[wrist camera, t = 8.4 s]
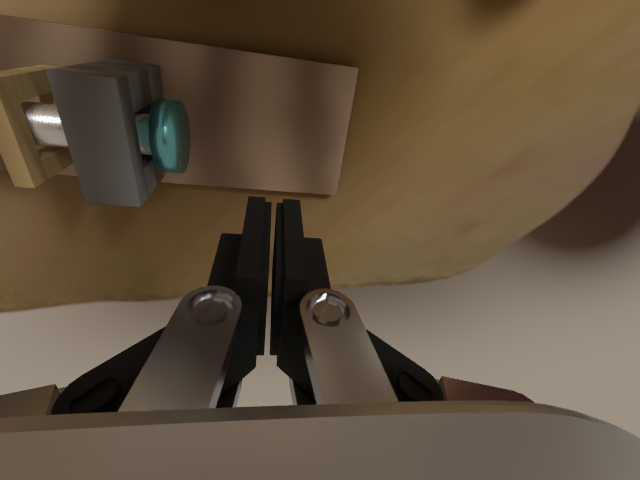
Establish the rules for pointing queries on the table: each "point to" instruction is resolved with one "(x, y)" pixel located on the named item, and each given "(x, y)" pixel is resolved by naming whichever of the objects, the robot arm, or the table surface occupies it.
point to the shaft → (153, 129)
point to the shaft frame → (178, 84)
